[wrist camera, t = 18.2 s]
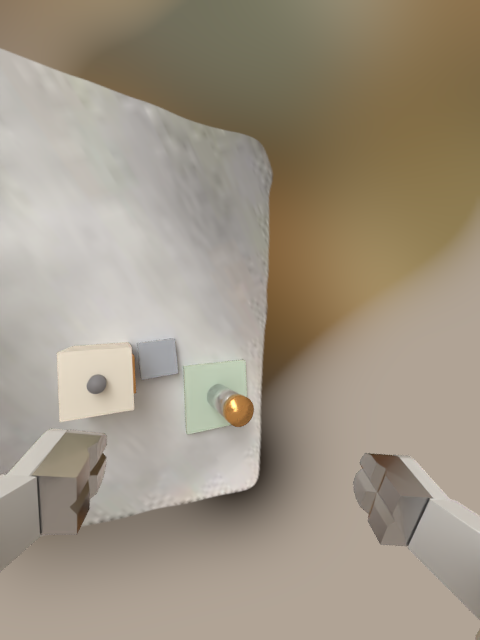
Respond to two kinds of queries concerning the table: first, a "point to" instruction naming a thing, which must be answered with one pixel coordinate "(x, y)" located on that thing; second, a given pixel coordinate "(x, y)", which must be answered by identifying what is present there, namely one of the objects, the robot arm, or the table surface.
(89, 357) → the box
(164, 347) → the cover plate
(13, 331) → the table surface
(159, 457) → the table surface
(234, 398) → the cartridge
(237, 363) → the pad
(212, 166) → the table surface
